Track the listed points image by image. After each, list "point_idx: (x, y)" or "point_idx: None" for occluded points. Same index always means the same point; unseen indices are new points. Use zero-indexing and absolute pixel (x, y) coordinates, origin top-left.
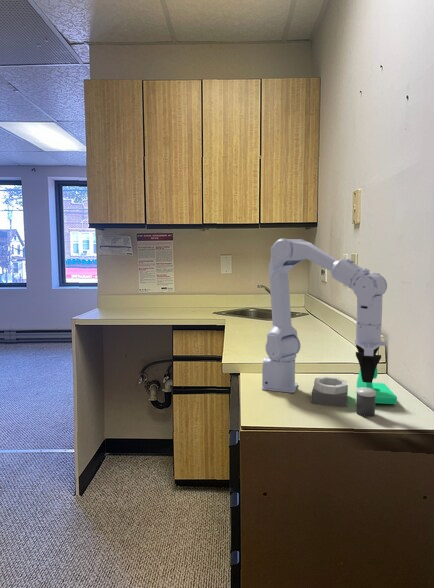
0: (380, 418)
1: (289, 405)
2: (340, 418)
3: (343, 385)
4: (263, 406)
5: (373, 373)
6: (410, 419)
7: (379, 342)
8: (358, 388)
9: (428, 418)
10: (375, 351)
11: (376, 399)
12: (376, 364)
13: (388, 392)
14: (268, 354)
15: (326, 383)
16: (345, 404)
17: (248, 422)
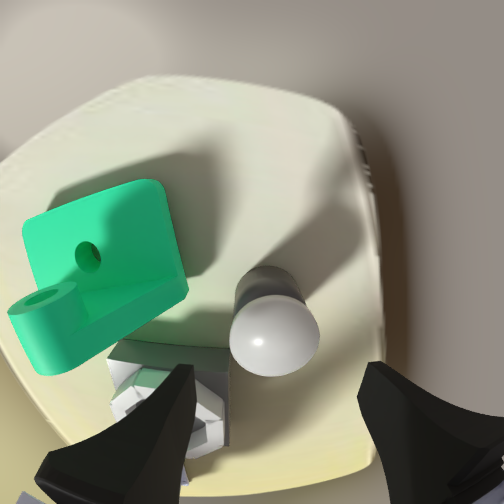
0: (297, 249)
1: (262, 451)
2: (323, 360)
3: None
4: (282, 475)
5: (416, 389)
6: (276, 144)
7: None
8: (254, 369)
9: (247, 83)
10: (147, 478)
11: (177, 262)
12: (471, 415)
13: (98, 211)
14: None
15: None
16: (229, 357)
17: (358, 468)
